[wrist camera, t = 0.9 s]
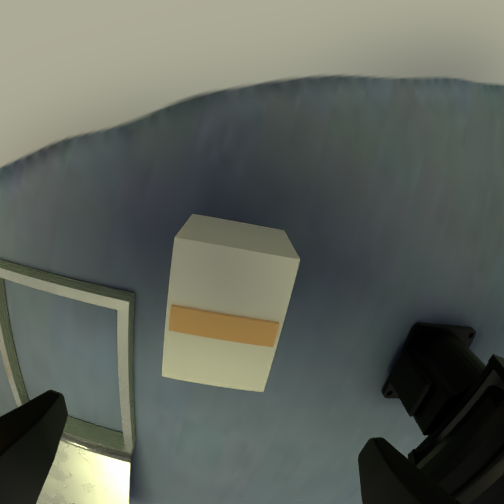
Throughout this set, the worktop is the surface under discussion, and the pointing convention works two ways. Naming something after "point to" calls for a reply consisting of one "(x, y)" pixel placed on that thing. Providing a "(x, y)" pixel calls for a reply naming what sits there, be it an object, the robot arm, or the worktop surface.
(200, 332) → the block
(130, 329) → the case
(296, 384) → the worktop surface
